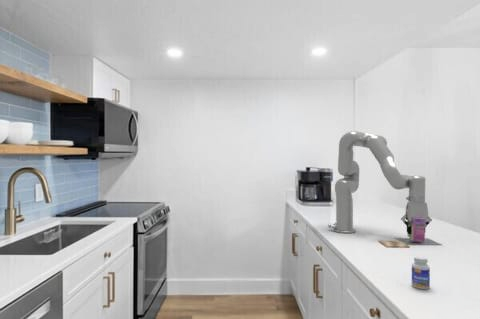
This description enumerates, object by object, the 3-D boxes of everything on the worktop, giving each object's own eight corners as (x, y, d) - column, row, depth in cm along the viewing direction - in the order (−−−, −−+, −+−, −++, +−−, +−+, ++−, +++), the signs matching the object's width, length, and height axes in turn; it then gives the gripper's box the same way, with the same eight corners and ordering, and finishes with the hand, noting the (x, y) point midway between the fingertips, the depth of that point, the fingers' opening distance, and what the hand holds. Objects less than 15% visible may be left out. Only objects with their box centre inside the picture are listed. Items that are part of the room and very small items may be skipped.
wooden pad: (386, 247, 166) (386, 246, 166) (378, 242, 177) (378, 240, 177) (409, 247, 166) (409, 246, 166) (400, 242, 177) (400, 241, 177)
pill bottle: (412, 288, 114) (412, 259, 114) (410, 282, 119) (410, 254, 119) (431, 290, 112) (431, 260, 112) (428, 284, 117) (428, 256, 117)
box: (425, 242, 173) (425, 218, 173) (412, 241, 174) (413, 218, 174) (418, 237, 183) (419, 215, 183) (407, 236, 184) (407, 214, 184)
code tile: (405, 244, 171) (405, 244, 171) (394, 238, 185) (394, 238, 185) (442, 245, 171) (442, 244, 171) (428, 238, 185) (428, 238, 185)
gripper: (403, 200, 175) (402, 235, 175) (437, 200, 174) (436, 236, 174) (396, 198, 182) (396, 231, 182) (429, 199, 181) (429, 232, 182)
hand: (415, 233), depth 178 cm, fingers closed on box, 6 cm apart
